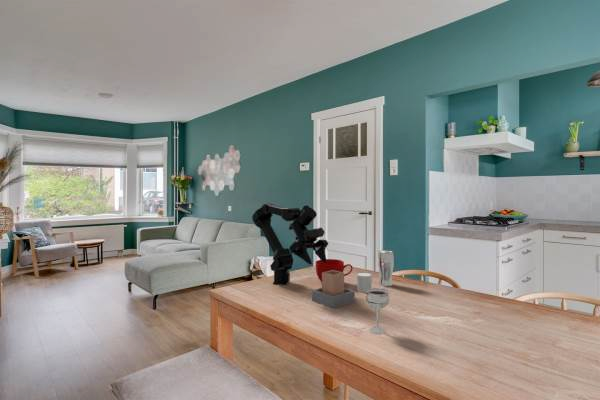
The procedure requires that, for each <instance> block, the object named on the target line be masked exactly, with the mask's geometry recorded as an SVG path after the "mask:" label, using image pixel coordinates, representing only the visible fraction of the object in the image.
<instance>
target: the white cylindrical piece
mask: <svg viewBox="0 0 600 400" xmlns="http://www.w3.org/2000/svg"><path fill="white" fill-rule="evenodd" d="M355 278H356V287H357V288H356V289H357V292H359V293H365V294H366V293H367V290H368V289H371V288H372V283H373V274H372V273H369V272H357V273H356V275H355ZM367 294H368V293H367Z"/></svg>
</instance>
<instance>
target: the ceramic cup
mask: <svg viewBox="0 0 600 400" xmlns="http://www.w3.org/2000/svg"><path fill="white" fill-rule="evenodd" d="M326 261H327V262H326V263H324V262H323V261H322V260H321V259H319V260H316V261H315V272H316V276H317V278H318V280H319V281H320V282H321V283H322V272H327V271H331V270H335V271H339V272H343V273H344V270H345V268H346V267H350V270H349V271H348V272H347V273H344V277H346V276H348V275H350V274H351V273H352V271H353V270H354V268H353V265H351V264H350V263H349V264H348V263H347V264H345V262H344V260H341V259H335V258H333V259H332V258H326Z"/></svg>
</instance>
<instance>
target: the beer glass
mask: <svg viewBox="0 0 600 400" xmlns="http://www.w3.org/2000/svg"><path fill="white" fill-rule="evenodd" d="M394 257H395V256H394V251H392V250H386V249H385V250H384V249H382V250H378V253H377V265H378V266H377V268H378V273H379V281H378V285H379V286H381V287H387V288H388V287H389V288H390V287H392V286H393V283H394V282H393V272H394V271H393V270H394V265H395V261H394V260H395V259H394Z"/></svg>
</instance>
